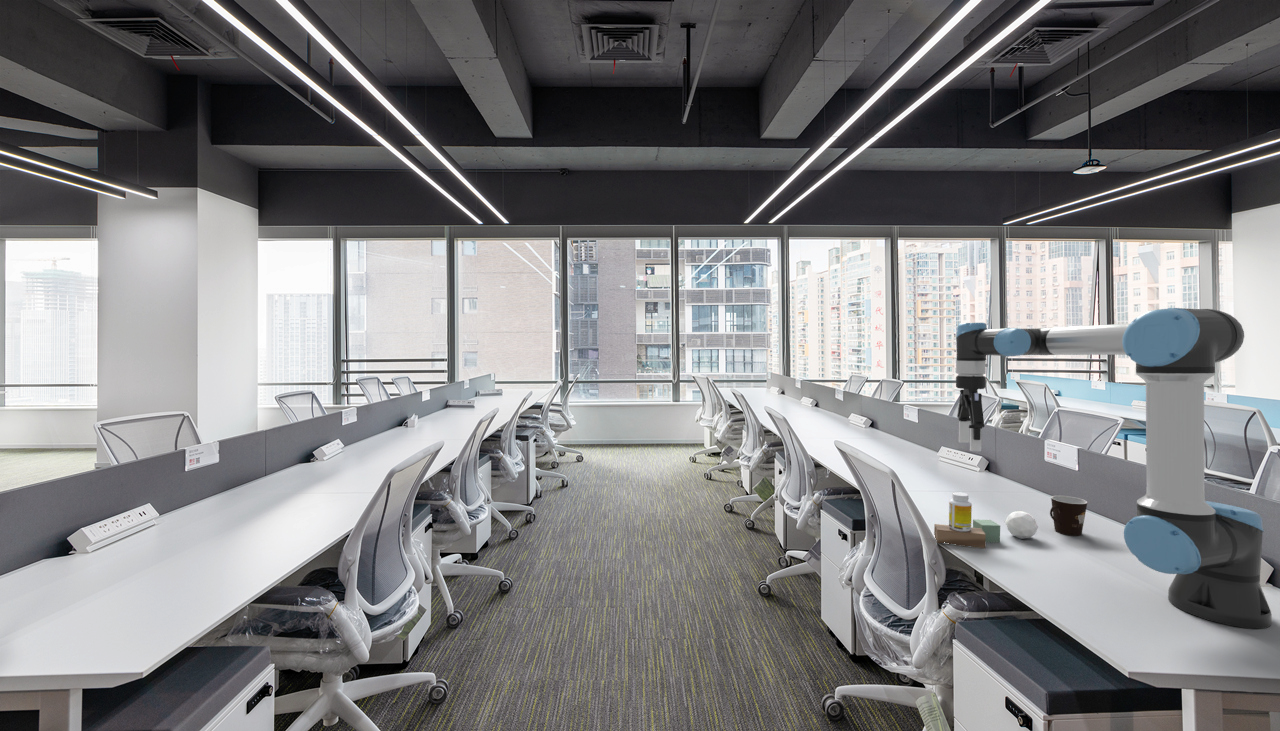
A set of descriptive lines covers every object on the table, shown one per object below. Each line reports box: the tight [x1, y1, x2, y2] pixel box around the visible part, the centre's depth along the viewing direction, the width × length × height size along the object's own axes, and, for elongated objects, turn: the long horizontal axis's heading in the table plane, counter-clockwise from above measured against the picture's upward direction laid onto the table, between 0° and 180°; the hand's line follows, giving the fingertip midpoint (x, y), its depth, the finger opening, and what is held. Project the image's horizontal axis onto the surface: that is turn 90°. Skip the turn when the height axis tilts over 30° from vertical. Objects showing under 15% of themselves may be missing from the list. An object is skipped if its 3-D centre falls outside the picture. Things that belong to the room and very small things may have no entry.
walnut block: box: [933, 523, 986, 549], centre depth 156 cm, size 5×12×4 cm, turn 69°
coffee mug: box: [1049, 495, 1088, 537], centre depth 163 cm, size 12×9×10 cm
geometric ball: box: [1004, 510, 1039, 540], centre depth 160 cm, size 8×8×8 cm
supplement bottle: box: [948, 491, 973, 532], centre depth 155 cm, size 6×6×10 cm
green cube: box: [972, 519, 1001, 543], centre depth 159 cm, size 5×5×5 cm
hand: (969, 446), depth 160 cm, fingers open, 13 cm apart
